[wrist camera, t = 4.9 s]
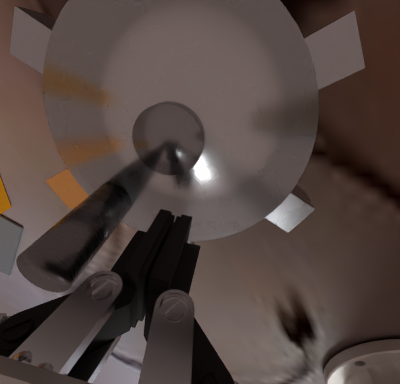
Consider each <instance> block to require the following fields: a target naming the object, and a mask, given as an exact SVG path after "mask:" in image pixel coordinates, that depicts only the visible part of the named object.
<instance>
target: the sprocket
mask: <svg viewBox="0 0 400 384" xmlns="http://www.w3.org/2000/svg"><path fill="white" fill-rule="evenodd" d="M10 54H12V55H13V56H15V57H16V58H18V59H19V60H21V61H23V62H24V63H26V64H27V65H29V66H30V67H32V68H33V69H35V70H36V71H38V72H40V73H41V74H43V95H44V105H45V110H46V115H47V120H48V124H49V127H50V131H51V134H52V137H53V140H54V142H55V144H56V147H57V149H58V151H59V154H60V156H61V157H62V159H63V161H64V163H65V165H66V166H67V169H65V170H64V171H62V172H60V173H58V174H57V175H55V176H53V177H51V178H50V179H48V180H46V182H47V183H48V184H49V186H50V187H51V188H52V189H53V190H54V191H55V193H56V194H57V195H58V196H59V197H60V198H61V199H62V201H63V202H64V203H65V204H66V205H67V206H68V207H69V209H72V208H74V207H75V208H74V209H73V210H72V211H71V212H69V213H68V214H67V215H66V216H65V217H64V218H62V219H61V220H60V221H59V222H58V223H57V224H55V225H54V226H53V227H52V228H51V229H49V230H48V231H47V232H46V233H45V234H44V235H42V236H41V237H40V238H39V239H38V240H36V241H35V242H34V243H33V244H32V245H31V246H29V247H28V248H27V249H26V250H25V251H24V252H22V253H21V254H20V255H19V256H18V258H17V266H18V269H19V271H20V272H21V273H22V275H23V276H24V277H25V278H26V279H27V280H28V281H30V282H31V283H33V284H34V285H36V286H38V287H40V288H42V289H44V290H47V291H51V292H64V291H66V290H68V289H69V288H70V287H71V285H72V284H73V283H74V282H75V280H76V279H77V278H78V276H79V275H80V274H81V272H82V271H83V270H84V269H85V267H86V266H87V265H88V263H89V262H90V261H91V260H92V258H93V257H94V256H95V254H96V253H97V252H98V250H99V249H100V248H101V247H102V245H103V244H104V243H105V241H106V240H107V239H108V238H109V236H110V235H111V234H112V232H113V231H114V230H115V228H116V227H117V226H118V225H119V223H120V222H121V221H122V222H123V223H125V224H127V225H129V226H131V227H133V228H135V229H137V230H140V231H144V232H147V230H148V229H149V227H150V225H151V224H152V222H153V221H154V219H155V217H156V216H157V214H158V212H159V211H160V209H163V210H167V211H171V212H172V215H175V219H176V217H177V216H179V217H181V215H182V214H183V215H187V216H191V217H192V223H191V228H190V233H189V238H188V243H191V244H194V241H206V240H214V239H218V238H223V237H227V236H230V235H233V234H236V233H239V232H241V231H243V230H245V229H247V228H249V227H251V226H253V225H255V224H256V223H258V222H260V221H261V220H263V219H264V218H266V219H268V220H269V221H271V222H272V223H274V224H275V225H277V226H278V227H280V228H282V229H283V230H285V231H286V232H290V231H291V230H292V229H293V228H294V227H296V226H297V225H298V224H299V223H300V222H301V221H303V220H304V219H305V218H306V217H307V216H308V215H310V214H311V213H312V212H313V211H314V210H315V209H314V207H313V205H312V203H311V201H310V199H309V197H308V195H307V194H306V192H305V191H304V190H302V189H301V188H299V187H298V186H296V185H297V183H298V181H299V179H300V178H301V176H302V174H303V172H304V171H305V168H306V166H307V163H308V161H309V159H310V156H311V154H312V150H313V146H314V142H315V139H316V134H317V126H318V118H319V92H318V90H319V89H321V88H324V87H326V86H328V85H330V84H332V83H334V82H336V81H338V80H341V79H343V78H345V77H347V76H349V75H351V74H353V73H355V72H357V71H360V70H362V69H364V68H365V64H364V58H363V53H362V47H361V42H360V37H359V31H358V26H357V20H356V15H355V10H354V11H352V12H350V13H348V14H346V15H344V16H342V17H340V18H338V19H336V20H334V21H333V22H331V23H329V24H327V25H325V26H324V27H322V28H320V29H318V30H317V31H315V32H313V33H311V34H309V35H308V36H306V37H304V38H303V35H302V33H301V31H300V29H299V27H298V25H297V24H296V22H295V21H294V19H293V18H292V16H291V15H290V13H289V12H288V10H287V9H286V7H285V6H284V4H283V3H282V2H281V1H280V0H68V1H67V3H66V4H65V6H64V7H63V8H62V10H61V12H60V14H59V16H58V18H57V20H56V19H54V18H53V17H51V16H50V15H47V14H43V13H40V12H36V11H32V10H29V9H25V8H22V7H18V6H15V9H14V17H13V26H12V35H11V44H10ZM76 206H77V207H76ZM175 219H174V222H175Z"/></svg>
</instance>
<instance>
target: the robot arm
mask: <svg viewBox="0 0 400 384" xmlns="http://www.w3.org/2000/svg"><path fill="white" fill-rule="evenodd" d="M174 219H175V215H172V212H171V211H167V210H163V209H160V211H159V212H158V214H157V216H156V217H155V219H154V221H153V222H152V224H151V225H150V227H149V229H148V230H147V232H144V231H140V230H138V231H137V232H136V234H135V235H134V237H133V238H132V240H131V241H130V243H129V244H128V246H127V247H126V249H125V250H124V251H123V253H122V254H121V256H120V257H119V259H118V260H117V262H116V263H115V265H114V266H113V268H112V269H111V271H100V272H97V273H94V274H92V275H91V276H89V277H88V278H87V279H86V280H85V281H84V282H83V283H82V284H81V285H80V286H79V287H78V288H77V289H76V290H75V291H74V292H73V293H70V294H68V295H65V296H62V297H60V298H57V299H54V300H51V301H49V302H46V303H43V304H41V305H38V306H35V307H33V308H30V309H27V310H24V311H22V312H19V313H17V314H15V315H13V316H6V314H5V313H0V384H92V383H93V381H94V380H95V378H96V377H97V375H98V373H99V372H100V370H101V369H102V367H103V365H104V364H105V362H106V361H107V359H108V357H109V356H110V354H111V353H112V351H113V350H114V348H115V346H116V345H117V343H118V342H119V340H120V338H121V335H122V334H124V333H126V332H128V331H129V330H130V328H131V327H134V328H135V327H136V324H137V322H138V320H140V321H143V319H144V316H145V314H146V316H145V326H144V337H145V339H146V341H147V345H146V350H145V355H144V359H143V364H142V369H141V373H140V378H139V383H138V384H239V383H237V382H235V381H234V380H233V379H232V377H231V375H230V373H229V371H228V370H227V368H226V367H225V365H224V364H223V362H222V360H221V359H220V357H219V356H218V354H217V352H216V351H215V349H214V348H213V346H212V345H211V343H210V341H209V340H208V338H207V337H206V335H205V333H204V332H203V330H202V329H201V327H200V326H199V324H198V322H197V321H196V319H195V318H194V303H193V301H192V299H191V297H190V296H189V291H190V287H191V283H192V279H193V275H194V271H195V267H196V262H197V258H198V254H199V250H200V246H198V245H194V244H191V243H188V238H189V233H190V228H191V223H192V217H191V216H187V215H183V214H182V215H181V217H179V216H177V217H176V219H175V222H174ZM324 379H325V382H326V384H400V339H387V340H379V341H372V342H368V343H363V344H359V345H356V346H353V347H351V348H348V349H346V350H344V351H342V352H340V353H338V354H337V355H335V356H334V357H333V358H332V359H330V361H329V362H328V363H327V365H326V366H325V369H324Z"/></svg>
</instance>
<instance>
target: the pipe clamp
mask: <svg viewBox="0 0 400 384" xmlns="http://www.w3.org/2000/svg"><path fill="white" fill-rule="evenodd" d="M9 208H11V205H10V202H9V199H8V196H7V194H6V191H5V188H4V185H3V183H2V180H1V177H0V214H1V213H3V212H4V211H6V210H8V209H9Z"/></svg>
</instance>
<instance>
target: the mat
mask: <svg viewBox="0 0 400 384" xmlns="http://www.w3.org/2000/svg"><path fill="white" fill-rule="evenodd" d="M22 231H23V227H22V226H20V225H18V224H17V223H15V222H13V221H11V220H9V219H7V218H6V217H4V216H2V215H0V271H1V272H3V273H5V274H7V275H10V273H11V270H12V266H13V263H14V259H15V255H16V252H17V248H18V245H19V241H20V238H21V234H22Z"/></svg>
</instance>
